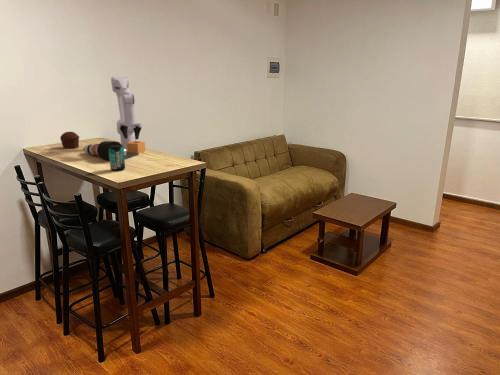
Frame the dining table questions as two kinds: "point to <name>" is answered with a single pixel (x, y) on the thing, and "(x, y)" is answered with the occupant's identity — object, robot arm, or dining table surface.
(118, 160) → the beverage can
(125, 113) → the robot arm
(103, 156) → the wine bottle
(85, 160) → the dining table surface
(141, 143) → the orange hollow block
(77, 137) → the muffin
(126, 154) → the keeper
